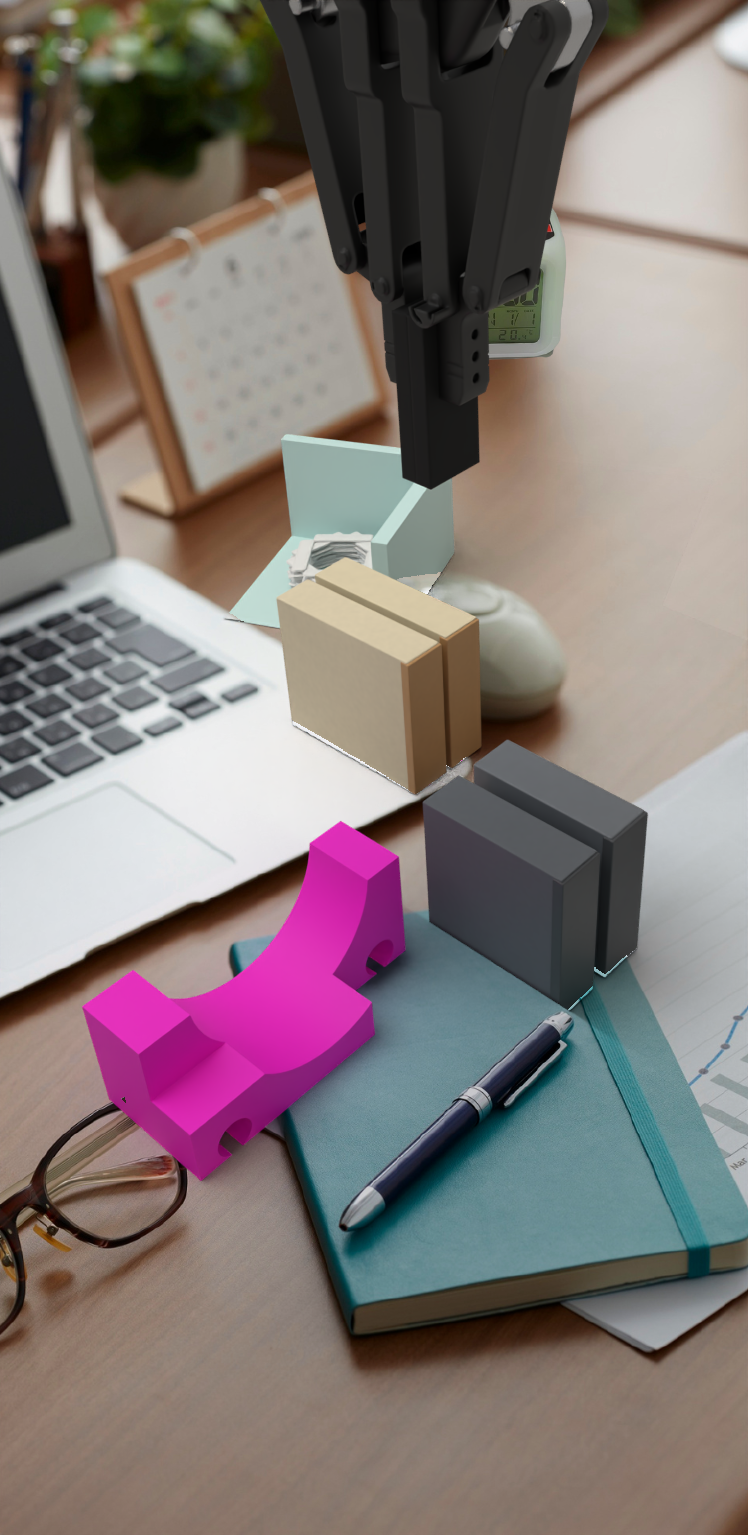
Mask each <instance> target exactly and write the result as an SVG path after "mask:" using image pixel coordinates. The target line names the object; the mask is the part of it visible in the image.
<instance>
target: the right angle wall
mask: <svg viewBox="0 0 748 1535" xmlns="http://www.w3.org/2000/svg"><path fill="white" fill-rule="evenodd" d="M280 444H281V453H282V462H283V471H284V479H285V488H286V496H287V505H288V506H287V508H288V516H289V523H290V532H291V536H290V537H289V538H288V540H287V541H286V542H285V543H284V545H283V546H282V547H281V549H279V551H278V552H277V553H276V555H274V557H273V558H272V559H271V561H270V562H269V563H268V564H267V565H266V566H265V568H264V569H263V570H262V572H260V574H259V575H258V576H257V578H256V579H255V580H254V581H253V583H252V584H251V585H250V587H248V589H247V590H246V591H245V593H243V595H242V596H241V598H240V599H239V600H237V602H236V604H235V605H233V607H232V608H231V610H230V611H229V612H228V613H230V614H233V615H234V616H236V617H237V618H238V619H240V620H241V621H244V622H243V623H246V624H252V625H257V626H259V625H260V626H265V627H269V628H276V629H280V624H279V616H278V608H277V600H276V598H277V597H278V596H280V595H281V594H283V593H285V592H286V591H288V590H290V589H292V588H293V587H295V586H297V585H298V584H300V583H302V582H304V581H305V580H307V579H309V580H311V581H313V582H315V574H317V573H319V572H320V571H322V570H324V569H325V568H327V567H329V566H331V565H332V564H334V563H336V562H337V561H339V560H341V559H343V558H344V557H347V558H349V559H351V560H353V561H355V562H358V563H360V564H362V565H364V566H366V567H369V568H371V569H373V570H375V571H377V572H379V573H382V574H384V575H386V576H388V577H390V578H392V579H395V580H397V579H399V578H403V577H411V576H417V575H418V576H419V575H425V574H437V573H438V572H442V573H443V571H444V570H445V568H446V566H447V565H448V564H449V562H450V560H451V559H452V557H453V555H454V554H455V529H454V526H455V525H454V497H453V496H454V495H453V478H451V479H449V480H448V481H446V482H444V483H442V484H440V485H439V486H437V487H435V488H433V489H432V490H430V489H428V488H425V487H423V486H420V485H418V484H416V483H413V482H411V481H409V480H406V479H404V478H402V463H401V448H400V447H395V446H388V445H382V444H381V445H380V444H371V443H365V442H364V443H363V442H356V441H346V440H338V439H330V438H323V437H316V436H315V437H314V436H305V435H299V434H291V433H290V434H289V433H286V434H284V436H282V438H281V439H280Z"/></svg>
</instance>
